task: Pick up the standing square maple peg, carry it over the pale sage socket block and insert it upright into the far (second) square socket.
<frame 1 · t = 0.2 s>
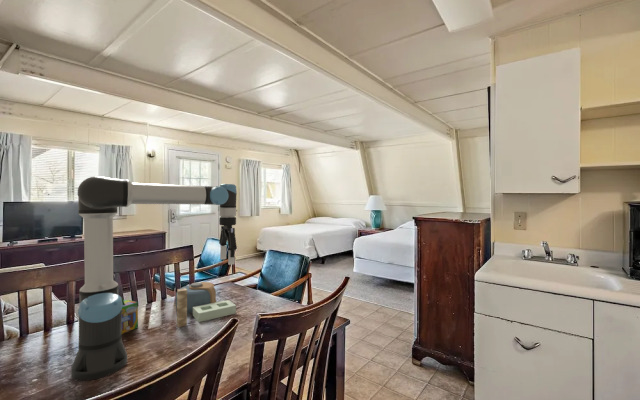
hand: (227, 261, 140), 28 cm above the table, fingers open, 13 cm apart
socket block: (214, 314, 147), on the table
chalk box: (121, 330, 129), on the table
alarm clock: (196, 306, 158), on the table
peg: (181, 325, 134), on the table
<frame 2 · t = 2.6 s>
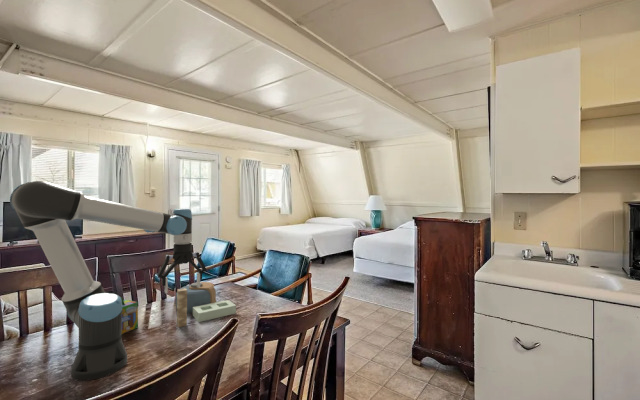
hand: (182, 289, 134), 16 cm above the table, fingers open, 13 cm apart
nothing on the table moved.
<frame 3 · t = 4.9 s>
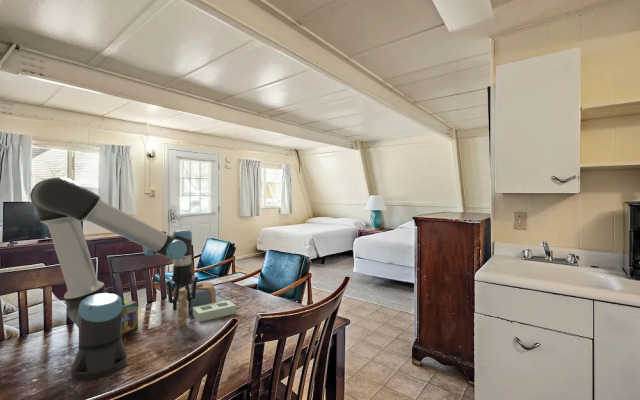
hand: (181, 316, 134), 4 cm above the table, fingers closed on peg, 3 cm apart
peg: (181, 325, 134), on the table, touching gripper
everything else where it was.
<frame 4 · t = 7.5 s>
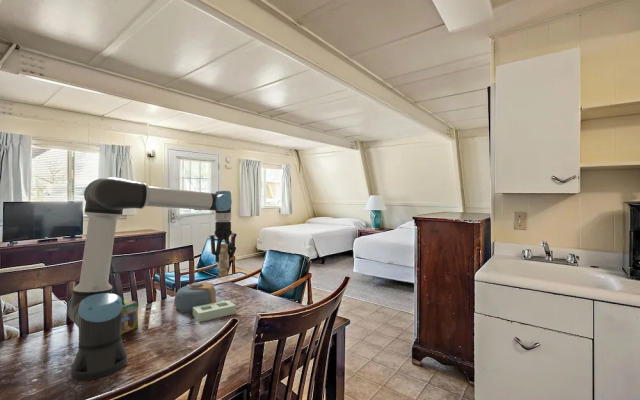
hand: (222, 267, 150), 23 cm above the table, fingers closed on peg, 3 cm apart
peg: (222, 275, 150), point 19 cm above the table, touching gripper
everything else where it was.
when the fingers open (6 cm above the table, at t = 10.3 s): peg drops 1 cm, resting in socket block.
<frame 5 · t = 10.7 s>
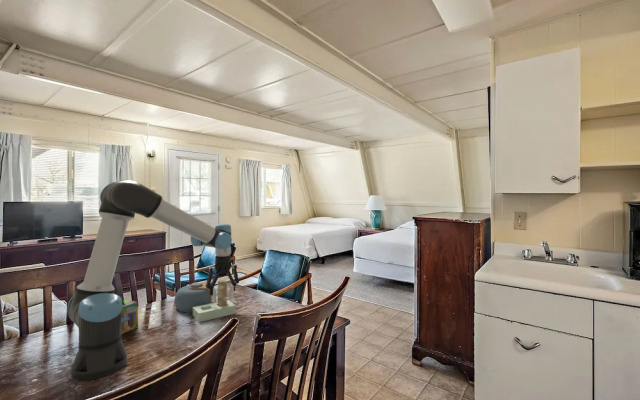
hand: (222, 299, 150), 6 cm above the table, fingers open, 9 cm apart
peg: (222, 312, 149), resting in socket block
everything else where it was.
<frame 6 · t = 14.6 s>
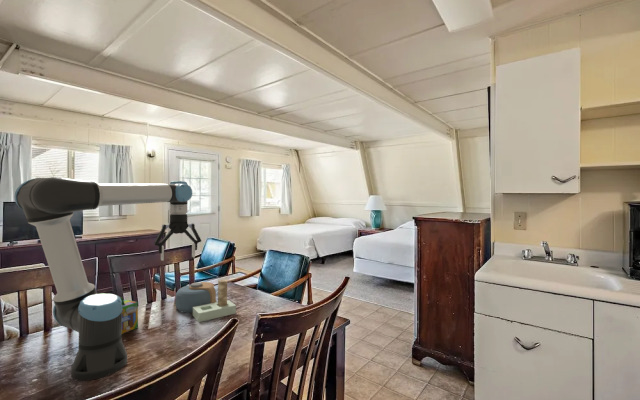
hand: (178, 258, 140), 29 cm above the table, fingers open, 13 cm apart
nothing on the table moved.
at the end: peg 0.1 cm from the target spot on the socket block, point 0.0 cm above the socket block's base; peg tilted 0°; the gripper is holding nothing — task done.
